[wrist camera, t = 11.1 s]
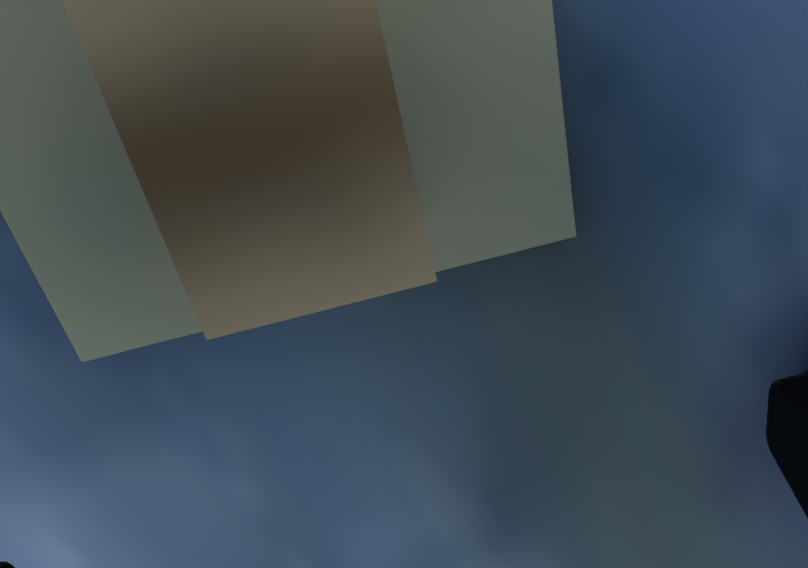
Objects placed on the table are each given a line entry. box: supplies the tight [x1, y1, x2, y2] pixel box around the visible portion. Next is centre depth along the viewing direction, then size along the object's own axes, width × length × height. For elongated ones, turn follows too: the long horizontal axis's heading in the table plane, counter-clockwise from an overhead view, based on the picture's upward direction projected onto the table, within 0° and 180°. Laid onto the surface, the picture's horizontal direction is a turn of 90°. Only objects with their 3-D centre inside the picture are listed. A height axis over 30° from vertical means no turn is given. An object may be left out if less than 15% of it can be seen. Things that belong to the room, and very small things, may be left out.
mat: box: [0, 0, 576, 362], centre depth 16 cm, size 13×13×1 cm
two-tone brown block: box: [62, 0, 437, 340], centre depth 14 cm, size 10×5×3 cm, turn 12°
